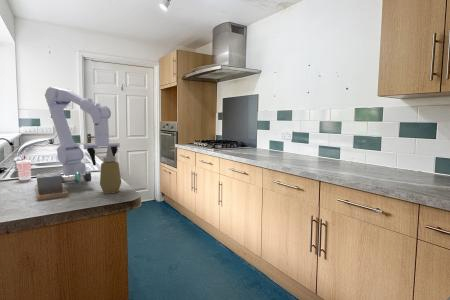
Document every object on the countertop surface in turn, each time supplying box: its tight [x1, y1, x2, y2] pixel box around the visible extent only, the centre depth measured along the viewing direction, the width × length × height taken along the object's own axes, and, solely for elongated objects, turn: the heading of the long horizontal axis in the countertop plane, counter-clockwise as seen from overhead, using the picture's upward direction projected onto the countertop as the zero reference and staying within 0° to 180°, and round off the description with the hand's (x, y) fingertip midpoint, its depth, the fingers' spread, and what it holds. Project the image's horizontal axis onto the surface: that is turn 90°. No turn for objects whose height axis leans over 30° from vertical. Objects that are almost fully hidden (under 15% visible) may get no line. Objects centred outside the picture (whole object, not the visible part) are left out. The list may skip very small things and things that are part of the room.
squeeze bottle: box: [99, 148, 122, 194], centre depth 109 cm, size 8×8×18 cm
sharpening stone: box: [35, 172, 69, 202], centre depth 109 cm, size 10×22×7 cm, turn 37°
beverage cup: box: [15, 150, 32, 181], centre depth 133 cm, size 6×6×14 cm
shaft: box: [62, 171, 92, 185], centre depth 113 cm, size 15×5×5 cm, turn 127°
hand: (103, 164), depth 120 cm, fingers open, 7 cm apart
